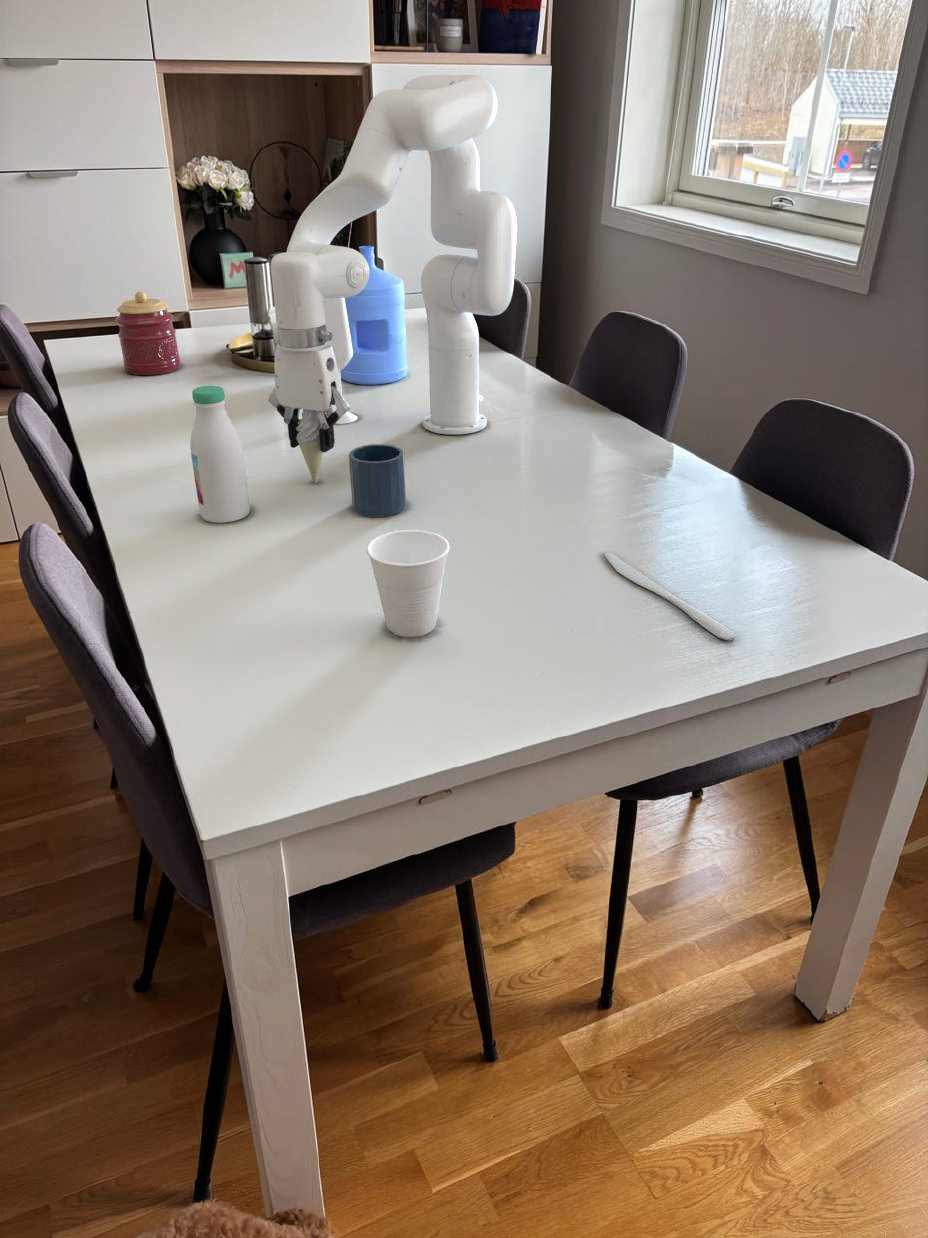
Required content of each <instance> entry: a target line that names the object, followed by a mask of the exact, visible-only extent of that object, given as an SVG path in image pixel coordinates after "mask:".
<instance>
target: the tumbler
mask: <svg viewBox="0 0 928 1238" xmlns="http://www.w3.org/2000/svg"><path fill="white" fill-rule="evenodd" d="M348 465H349V476H350V477H349V479H350V491H351V504H352V509H353V511H354V512H355V514H358V515H359V516H362V517H367V518H387V517H392V516H395V515H399V514H400V513H402V512H403V511H404V510H405V509H406V507H407V504H406V503H407V497H406V475H405V474H406V473H405V472H406V471H405V451H404V450H403V449H402V448H401V447H398V446H396V445H393V444H384V443H383V444H381V443H378V444H377V443H374V444H373V443H371V444H366V445H365V444H364V445H361V446H357V447H355V448H353V449H352V450H350V451H349V454H348Z"/></svg>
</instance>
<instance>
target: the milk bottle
mask: <svg viewBox="0 0 928 1238" xmlns="http://www.w3.org/2000/svg"><path fill="white" fill-rule="evenodd" d="M191 395H192V400H193V405H194V407H195V411H196V412H195V418H194V422H193V427H192V430H191V434H190V439H189V440H190V441H189V443H190V448H189V449H190V456H191V463H192V470H193V476H194V482H195V491H196V496H197V503H198V508H199V514H200V516H201V518H202V519H203V520H205V521H207V522H209V523H210V522H211V523H221V524H223V523H231V522H235V521H239V520H242V519H243V518H246V517H247V516H248V515H249V513H250V511H251V503H250V497H249V495H250V494H249V489H248V482H247V473H246V465H245V458H244V451H243V447H242V441H241V437H240V435H239V432H238V430H237V429H236V426H235V425H234V423H233V422H232V420H231V419H230V417H229V415H228V412H227V410H226V406H225V404H226V395H225V390H224V388H223V387H222V386H219V385H203V386H198V387H195V388H193V390H192V392H191Z"/></svg>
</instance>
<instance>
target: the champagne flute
mask: <svg viewBox="0 0 928 1238" xmlns="http://www.w3.org/2000/svg"><path fill="white" fill-rule="evenodd" d="M323 303H324V315H325V326H326V331H328V332H331V333H332V340H331V341H327V344H330V345H332V348H333V351H334V354H335V358H336V362H337V367H338V372H339V378H340V385H341V386H342V378H341V375H340V370H342V369H343V368H344V367H345V366H346V365H347V364H348V363H349V362H350V360H351V358H352V356H353V349H352V342H351V336H350V330H349V323H348V317H347V311H346V304H345V298H327V299H325V300H324V301H323ZM342 391H343V390H342V388H341V395H342V396H343V392H342ZM357 420H358V416H356V415H355V414H353V413H351V412H349V411H347V412H346V413H345V414H344V415H343V416H342V417H341V418H340V419H339V420H338V421H337V422H336V424H335V425H344V424H349V423H353V422H355V421H357Z"/></svg>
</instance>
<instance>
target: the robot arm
mask: <svg viewBox="0 0 928 1238" xmlns="http://www.w3.org/2000/svg"><path fill="white" fill-rule="evenodd" d="M367 106H368V107H367V108H366V111H365V113H364V116H363V118H362V121H361V123H360V126H359V128H358V131H357V133H356V136H355V139H354V140H353V143H352V146H351V149H350V151H349V153H348V156H347V158H346V160H345V163H344V166H343V168H342V170H341V172H340V174H339V175H338V176H337V178H335V179H334V180H333V181H331V183H330V184H328V185H327V186H326V187H325V188H324V189H323V190H322V191H321V192H320V193H319V194H318V195H317V197H315V199H313V200H312V201H311V202H310V203H309V204H308V205H307V207H306V208H305V210H304V211H303V212H302V214H301V216H300V217H299V219H298V221H297V223H296V225H295V227H294V230H293V232H292V234H291V237H290V240H289V243H288V245H287V248H286V252H281V253H278V254H275V255H274V256H273V257H272V258H271V261H270V274H271V284H272V295H273V305H274V312H275V324H276V332H277V333H276V334H277V340H278V341H277V344H276V345H275V350H274V364H273V365H274V367H273V368H274V371H273V372H274V388H273V390H272V392H271V393H270V395H269V397H268V399H267V400H268V402H269V404H270V405H271V406H272V407H274V408H275V409H276V411H277V412H278V413H279V415H280V416H281V417H282V418H283V422H284V424H286V425H287V433H288V440H289V444H290V445H289V446H290V448H293V449H295V448H297V447H299V443H298V441H297V440H296V437H297V434H298V433H299V432H298V431H297V430H296V428H297V427H298V426H299V425H298V422H299V421H300V420H301V419H302V418H300V414H301V410H303V409H305V410H313V411H316V412H317V414H318V417H319V420H320V423H321V426H322V428H321V429H319V438H320V449H321V451H322V452H323V453H327V452H329V451H330V450H332V449H333V448H334V447H335V443H336V442H335V441H336V439H335V430H334V429H335V428H334V427H335V425H337V424H336V422H337V421H338V420H339V419H340V418H341V417H342V416H343V415H344V414H345V413H346V412H349V411H350V409H351V408H350V405H349V404H348V403H347V401H346V400H345V399H344V397H343V394H342V395H341V389H342V384H341V385H340V378H339V372H338V367H337V362H336V358H335V354H334V351H333V348H332V345H330V344H327V341H331V340H332V333H331V332H328V331H326V326H325V315H324V303H323V301H324V300H325V299H327V298H348V297H352V296H354V295H356V294H358V293H360V292H361V291H362V290H363V289H364V288H365V286H366V284H367V282H368V279H369V266H368V263H367V261H366V259H365V258H364V256H363V255H362V254H361V253H360V251H358V250H356V249H354V248H351V247H348V246H342V245H333V244H331V242H332V241H333V240H334V238H335V237H336V235H337V234H338V233H339V232H340V231H341V230H342V229H343V228H344V227H346V226H347V225H348V224H350V223H352V222H353V221H355V220H357V219H360V218H361V217H362V218H363V217H364V216H367V215H369V214H371V213H373V212H375V211H377V210H378V209H381V208H383V207H384V206H385V205H387V204H388V203H389V202H390V201H391V199H392V197H393V194H394V191H395V189H396V186H397V184H398V181H399V179H400V176H401V173H402V171H403V169H404V166H405V163H406V162H407V160H408V157H409V154H410V152H412V151H420V152H421V151H423V152H424V151H425V152H427V153H428V156H429V161H430V230H431V231H430V232H431V234H432V237H433V239H434V240H435V241H436V242H437V243H439V244H440V245H443V246H447V247H451V248H459V249H469V250H476V254H477V256H476V257H475V256H474V257H473V256H469V255H461V254H460V255H459V254H439V255H437V256H434V257H433V258H431V259H430V260H428V262H427V263H426V264H425V266H424V267H423V268H422V272H421V277H420V288H421V293H422V298H423V302H424V309H425V313H426V320H427V336H428V337H427V338H428V340H427V341H428V376H429V377H428V380H429V405H430V406H429V411H430V412H429V414H427V415H425V416H424V417H423V418H422V426H423V428H424V429H425V430H427V431H429V432H431V433H435V434H440V435H441V434H442V435H449V436H451V435H452V436H453V435H455V436H456V435H467V434H473V433H476V432H477V433H478V432H479V431H482V430H483V429H485V428H486V427H487V424H488V418H487V417H486V416H485V415H484V414H482V413H480V405H481V404H482V403H483V402H484V397H483V395H482V394H480V334H479V328H478V325H477V322H476V320H475V317H474V315H479V316H489V317H493V316H494V317H495V316H499V315H502V314H503V313H504V312H505V311H506V310H507V308H508V307H509V305H510V304H511V301H512V297H513V294H514V293H513V292H514V285H515V274H516V273H515V271H516V255H517V254H516V253H517V236H518V235H517V234H518V224H517V223H518V222H517V215H516V211H515V207H514V205H513V203H512V202H511V200H510V198H508V197H507V196H506V195H504V194H502V193H499V192H496V191H485V190H481V187H480V186H481V185H480V184H481V183H480V157H479V152H478V148H477V145H476V142H474V139H475V138H476V137H479V136H480V135H482V134H484V133H485V132H487V130H488V129H490V127H491V126H492V124H493V122H494V120H495V118H496V114H497V110H498V99H497V94H496V91H495V89H494V86H493V85H492V83H491V82H490V81H489V80H488V79H486V78H485V77H483V76H481V75H476V74H454V75H453V74H449V75H448V74H432V75H431V74H429V75H421V76H417V77H413V78H411V79H410V80H409V81H407V82H406V83H405V84H404V86H403V88H401V89H388V90H383V91H380V92H378V93H377V94H375V95H374V96H373V97H372V99H371V100H370V102H369V104H368V105H367ZM473 138H474V139H473ZM473 314H474V315H473ZM333 406H335V407H336V408H335V410H333Z"/></svg>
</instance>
